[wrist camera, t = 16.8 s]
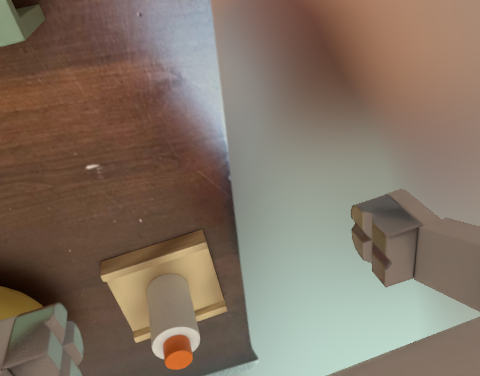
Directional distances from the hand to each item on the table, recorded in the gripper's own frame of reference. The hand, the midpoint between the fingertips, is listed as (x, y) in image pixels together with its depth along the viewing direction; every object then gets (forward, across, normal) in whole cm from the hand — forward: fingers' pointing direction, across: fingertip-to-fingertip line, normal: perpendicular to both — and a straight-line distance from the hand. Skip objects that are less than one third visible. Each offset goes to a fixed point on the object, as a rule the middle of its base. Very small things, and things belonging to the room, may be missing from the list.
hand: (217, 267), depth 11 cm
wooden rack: (+29, +6, +27) cm, 40 cm away
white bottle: (+28, +6, +27) cm, 39 cm away
